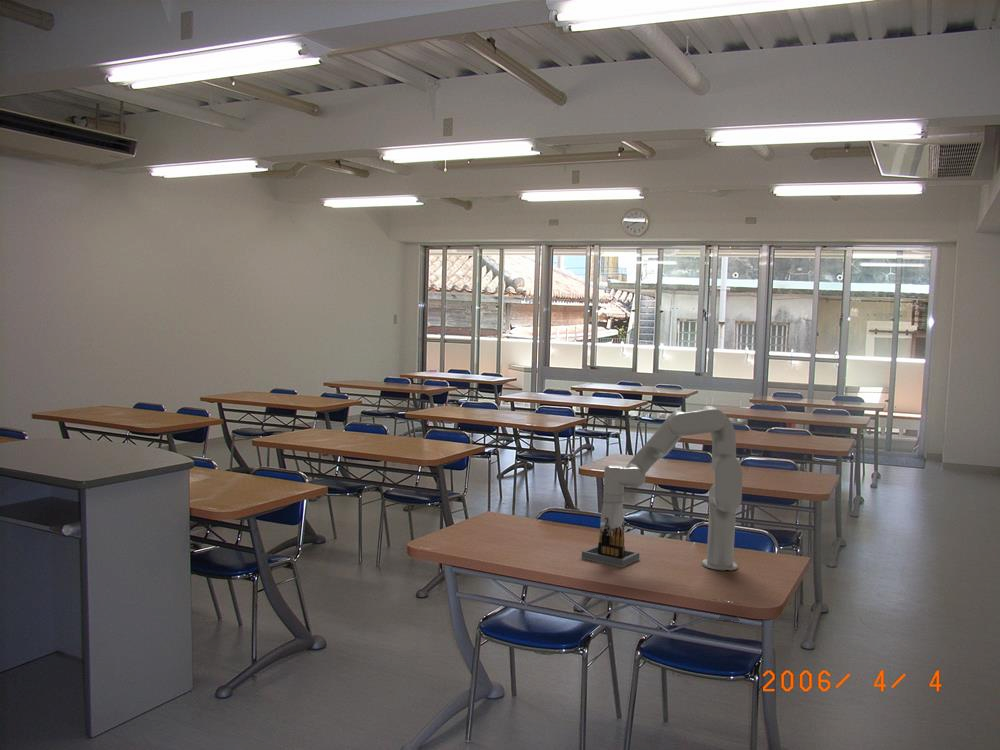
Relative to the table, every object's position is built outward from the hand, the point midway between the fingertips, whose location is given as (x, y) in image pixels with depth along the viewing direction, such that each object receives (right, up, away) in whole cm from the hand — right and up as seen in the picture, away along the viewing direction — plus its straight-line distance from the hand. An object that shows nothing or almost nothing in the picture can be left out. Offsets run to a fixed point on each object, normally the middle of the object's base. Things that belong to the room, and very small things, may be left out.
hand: (611, 543), depth 296 cm
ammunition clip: (0, -6, 0) cm, 6 cm away
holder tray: (0, -6, 0) cm, 6 cm away
